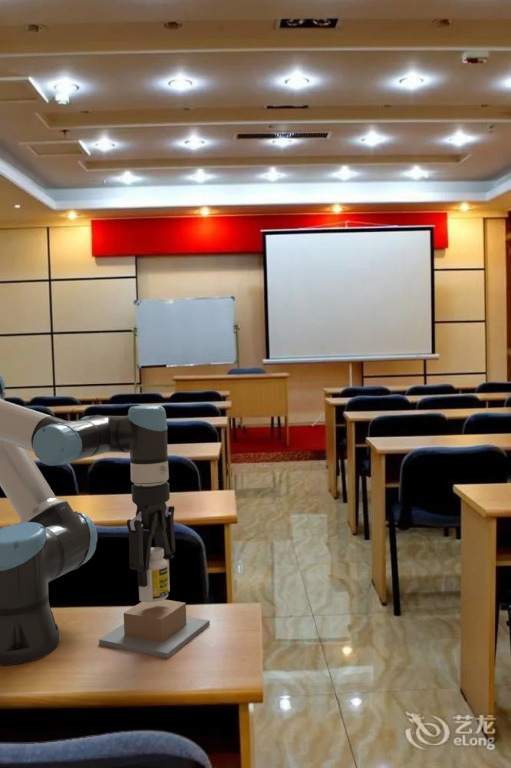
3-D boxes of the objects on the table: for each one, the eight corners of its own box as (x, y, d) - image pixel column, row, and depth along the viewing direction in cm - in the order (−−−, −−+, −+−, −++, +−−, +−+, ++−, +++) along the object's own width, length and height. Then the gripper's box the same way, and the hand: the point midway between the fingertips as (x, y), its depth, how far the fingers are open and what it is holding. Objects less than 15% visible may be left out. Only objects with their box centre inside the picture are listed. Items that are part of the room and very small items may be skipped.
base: (99, 644, 126) (98, 617, 126) (146, 613, 140) (145, 589, 140) (167, 658, 119) (166, 629, 119) (209, 624, 133) (208, 599, 133)
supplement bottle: (163, 603, 126) (161, 554, 126) (137, 601, 127) (135, 553, 127) (172, 593, 131) (170, 546, 131) (147, 591, 133) (145, 545, 132)
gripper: (138, 492, 118) (143, 615, 119) (190, 474, 135) (194, 582, 136) (106, 490, 122) (111, 610, 123) (160, 473, 138) (164, 578, 139)
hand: (154, 595), depth 129 cm, fingers closed on supplement bottle, 5 cm apart
